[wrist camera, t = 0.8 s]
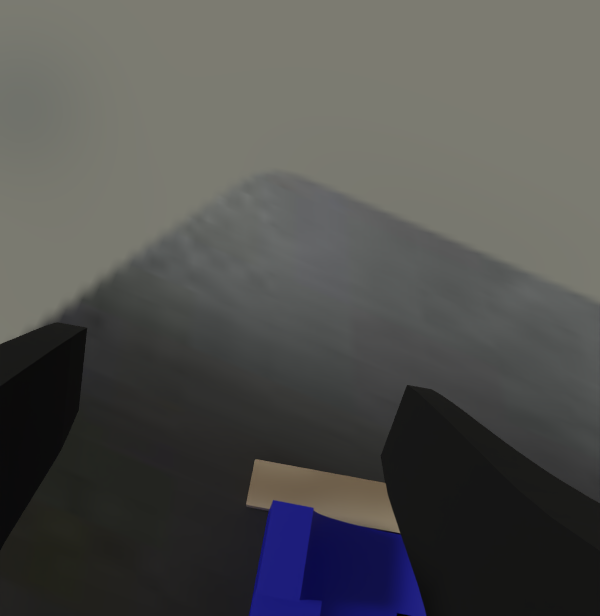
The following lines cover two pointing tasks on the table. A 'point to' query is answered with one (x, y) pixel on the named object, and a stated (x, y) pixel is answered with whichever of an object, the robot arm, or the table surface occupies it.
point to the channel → (323, 494)
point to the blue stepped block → (331, 568)
